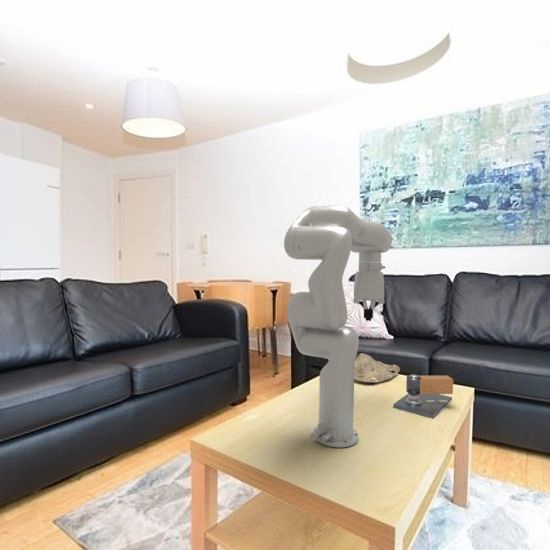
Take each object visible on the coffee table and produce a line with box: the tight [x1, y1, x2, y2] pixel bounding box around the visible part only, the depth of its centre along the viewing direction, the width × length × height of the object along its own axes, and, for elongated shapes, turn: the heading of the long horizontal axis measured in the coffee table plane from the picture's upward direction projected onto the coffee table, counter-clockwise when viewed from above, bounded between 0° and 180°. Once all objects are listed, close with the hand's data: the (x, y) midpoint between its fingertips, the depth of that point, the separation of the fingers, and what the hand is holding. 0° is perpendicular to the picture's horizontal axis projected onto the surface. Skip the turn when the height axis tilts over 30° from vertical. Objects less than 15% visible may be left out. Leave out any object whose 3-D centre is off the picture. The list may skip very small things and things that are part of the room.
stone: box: [354, 353, 401, 384], centre depth 163 cm, size 30×10×15 cm
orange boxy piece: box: [405, 374, 454, 395], centre depth 130 cm, size 15×5×6 cm, turn 92°
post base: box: [392, 393, 453, 419], centre depth 132 cm, size 20×13×4 cm
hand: (368, 320), depth 133 cm, fingers closed
